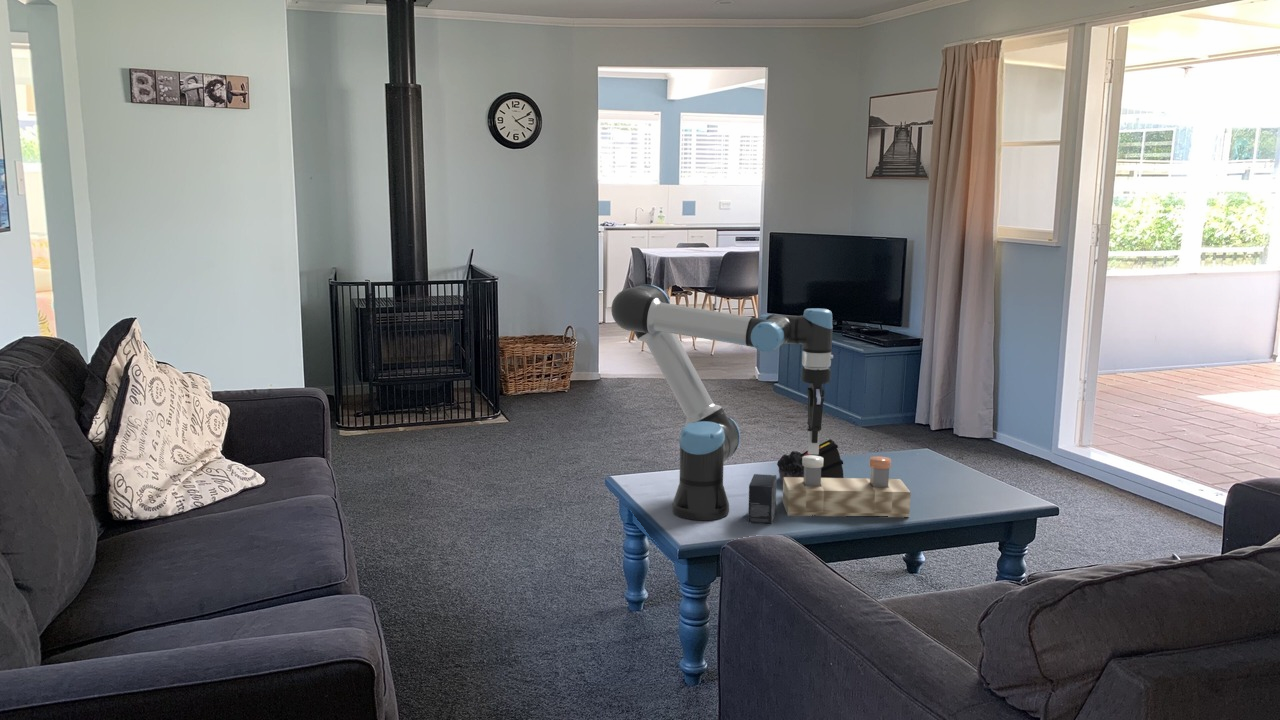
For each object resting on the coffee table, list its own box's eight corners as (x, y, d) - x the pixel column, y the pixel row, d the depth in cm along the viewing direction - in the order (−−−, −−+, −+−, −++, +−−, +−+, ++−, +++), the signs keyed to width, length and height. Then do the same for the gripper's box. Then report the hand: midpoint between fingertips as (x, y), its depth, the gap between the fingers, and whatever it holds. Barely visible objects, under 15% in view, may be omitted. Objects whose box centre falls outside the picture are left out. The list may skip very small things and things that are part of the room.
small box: (752, 510, 261) (753, 472, 260) (776, 512, 260) (777, 474, 258) (746, 523, 251) (748, 484, 249) (772, 525, 250) (773, 486, 248)
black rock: (822, 477, 295) (820, 445, 294) (824, 486, 282) (823, 453, 281) (778, 479, 297) (776, 447, 296) (778, 488, 284) (776, 454, 283)
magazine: (855, 486, 278) (835, 441, 275) (814, 507, 277) (794, 462, 274) (850, 482, 282) (831, 438, 278) (810, 503, 281) (790, 458, 277)
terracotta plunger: (870, 488, 259) (872, 461, 257) (866, 482, 264) (867, 456, 263) (891, 489, 258) (893, 462, 257) (887, 483, 264) (888, 456, 263)
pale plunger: (802, 487, 259) (803, 460, 258) (800, 481, 265) (801, 455, 263) (823, 488, 259) (825, 460, 258) (820, 482, 264) (821, 455, 263)
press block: (787, 515, 257) (788, 490, 256) (782, 501, 269) (783, 477, 268) (909, 517, 256) (910, 492, 255) (898, 503, 268) (900, 479, 267)
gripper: (834, 371, 250) (831, 460, 254) (826, 363, 263) (823, 447, 267) (805, 371, 250) (802, 460, 254) (798, 362, 263) (796, 447, 267)
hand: (813, 453), depth 260 cm, fingers closed
